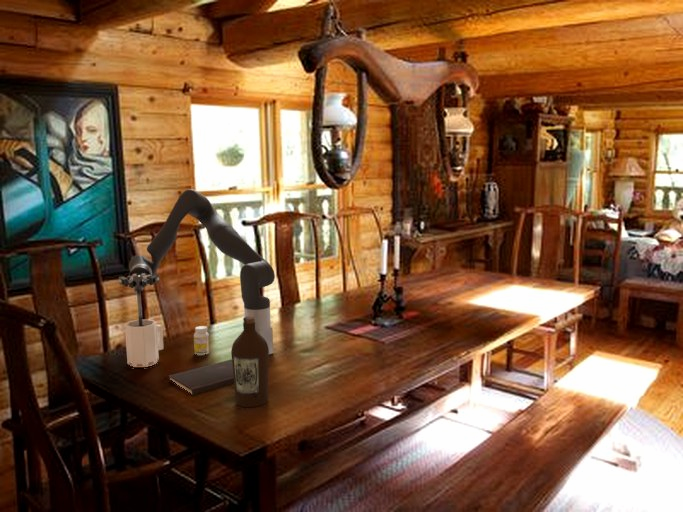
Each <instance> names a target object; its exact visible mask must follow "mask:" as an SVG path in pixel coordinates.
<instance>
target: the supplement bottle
mask: <svg viewBox="0 0 683 512" xmlns="http://www.w3.org/2000/svg"><path fill="white" fill-rule="evenodd" d="M207 327H208V326H205V325H204V326H203V325H199V326H196V327H194V328H195V329H194V331H195V332H194V334H193V345H194V346H193V347H194V348H193V349H194V355H196V354H197V355H196V356H205V354H206V355H209V354H210V334H209V332H207V330H208V328H207Z"/></svg>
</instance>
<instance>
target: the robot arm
mask: <svg viewBox="0 0 683 512" xmlns="http://www.w3.org/2000/svg"><path fill="white" fill-rule="evenodd" d="M187 215H189V216H191V217H193V218H195V219H196V220H197V221H199V223H201V224H202V226H203V227H204V228H205V229H206V231H207V235H208V238H209V239H210V241H211V242H212V243H213V245H215V246H216V248H217V250H219V251H220V252H221V253H223V254H224V255H225V256H227V257H229V258H231V259H233V260H236V261H238V262H240V263H241V264H243V266H241V269H240V271H239V282H240V292H241V293H240V294H241V299H242V302H243V312H244V313H243V314H244V317H248V316H252V317H254V318H255V320H254V322H255V330H256V331H257V332H258V333H259V334H260V335H261V336H262V337H263V338H264V339H265V340H266V342H267V344H268V348H269V356H270V355H272V354H274V334H273V333H274V329H273V328H272V325H271V301H270V298H269V297H267V296H262V295H261V290H260V288H264V287H269V286H271V284H273V283H274V282H275V277H276V276H275V271H274V268H273V266H272V265H271V264H270V263H269V262H268V261H267V260H266V259H265V258H264V257H263V256H261V255H260V254H259V253H258V252H257V251H255V249H254V248H252V247H251V246H250V244H249V243H248V242H246V240H245V239H244V238H243V237H242V236H241V235H240V234H239V233H238V231H236V229H235V228H234V227H233V226H232V225H231V224H230V223H229V222H228V221H227V220H226V219H225V218H223V217H222V216H221V215H220V214H219V213H218V211H217V210H216V209H215V207H214V206H213V205H212V203H211V201H210V200H209V199H208V197H206V196H205V195H204V194H202V193H200V192H199V191H197V190H195V189H192V188H188V189H186V190H184V191H183V192H182V193H181V194H180V195H179V197H178V198H177V200H176V201H175V204H174V206H173V207H172V209H171V211H170V212H169V215H168V216H167V218H166V220H165V222H164V224H163V226H162V227H161V228H160V230H159V231H158V232H157V234H156V235H155V237H154V238H153V239H152V240H151V241H150V242H149V244H148V246H147V247H146V251H147V252H148V254H149V255H150V256H151V257H152V259H153V261H151V260H150V259H149V258H147V257H145V256H144V255H142V254H136V255H134V256H133V257H131V259H130V261H129V263H128V270H129V274H128V276H127V277H125V276H119V277H118V280H119V281H118V283H119V285H121V286H122V287H129V288H131V289H134V284H133V276H134V275H142V278H143V280H142V288H143V289H144V288H145V287H147V286H148V285H149V286H153V285H155V284H157V283H159V282H160V275H159V274H158V273H157V272H158V269H159V266H160V265H161V264H160V263H161V262H162V260H163V258H164V256H166V254H167V253H168V251H169V250H170V249H171V248H172V247H173V245H174V244H175V241H176V239H177V234H178V231H179V227H180V225H181V223H182V222H183V219H184V218H185V217H186V216H187ZM244 317H243V318H244Z"/></svg>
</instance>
